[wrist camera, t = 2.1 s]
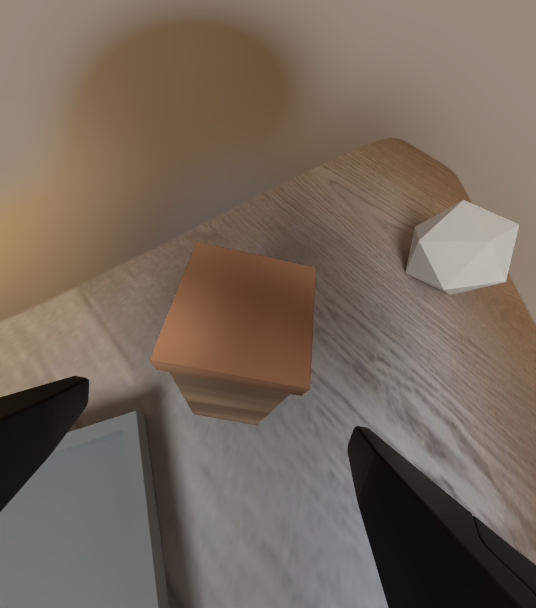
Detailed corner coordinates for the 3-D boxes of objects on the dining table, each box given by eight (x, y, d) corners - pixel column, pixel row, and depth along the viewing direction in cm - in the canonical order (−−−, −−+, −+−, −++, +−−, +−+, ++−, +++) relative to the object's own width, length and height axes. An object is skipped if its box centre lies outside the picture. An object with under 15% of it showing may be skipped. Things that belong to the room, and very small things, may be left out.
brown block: (258, 428, 18) (309, 388, 8) (190, 416, 18) (149, 359, 7) (268, 362, 20) (315, 267, 10) (208, 351, 20) (196, 241, 10)
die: (426, 324, 26) (559, 284, 20) (385, 252, 24) (519, 187, 18) (419, 288, 32) (518, 250, 27) (387, 229, 30) (486, 176, 25)
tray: (179, 680, 12) (171, 720, 10) (-207, 928, 8) (-330, 1064, 6) (144, 415, 17) (135, 410, 15) (-101, 496, 14) (-152, 501, 12)
